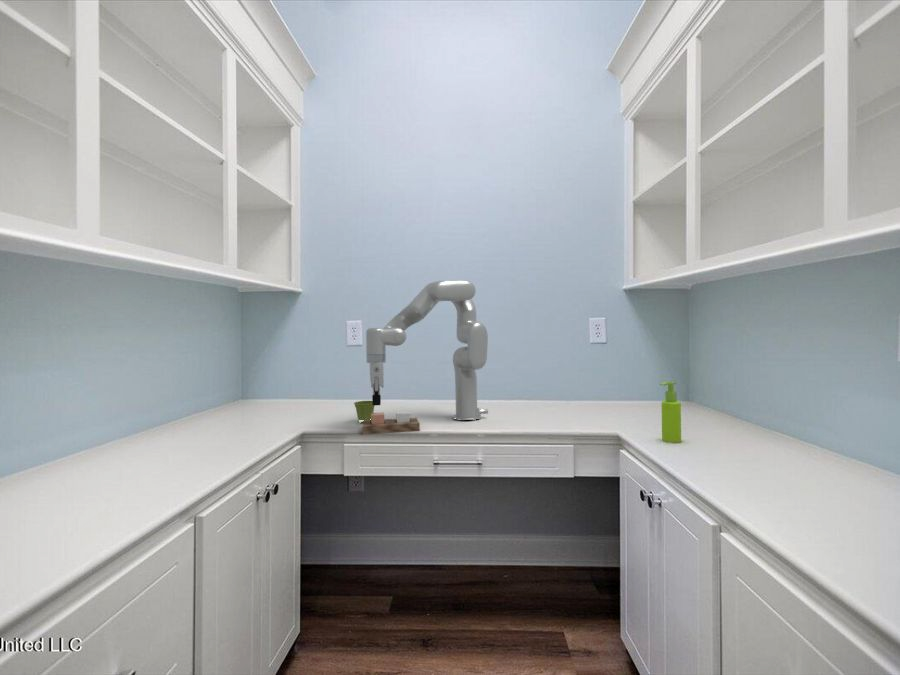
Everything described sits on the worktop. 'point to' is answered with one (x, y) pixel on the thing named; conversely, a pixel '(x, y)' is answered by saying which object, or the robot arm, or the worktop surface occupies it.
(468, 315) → the robot arm
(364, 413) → the plant pot
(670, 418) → the soap dispenser
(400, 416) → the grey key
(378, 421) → the terracotta key
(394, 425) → the brown rectangular frame
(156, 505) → the worktop surface
